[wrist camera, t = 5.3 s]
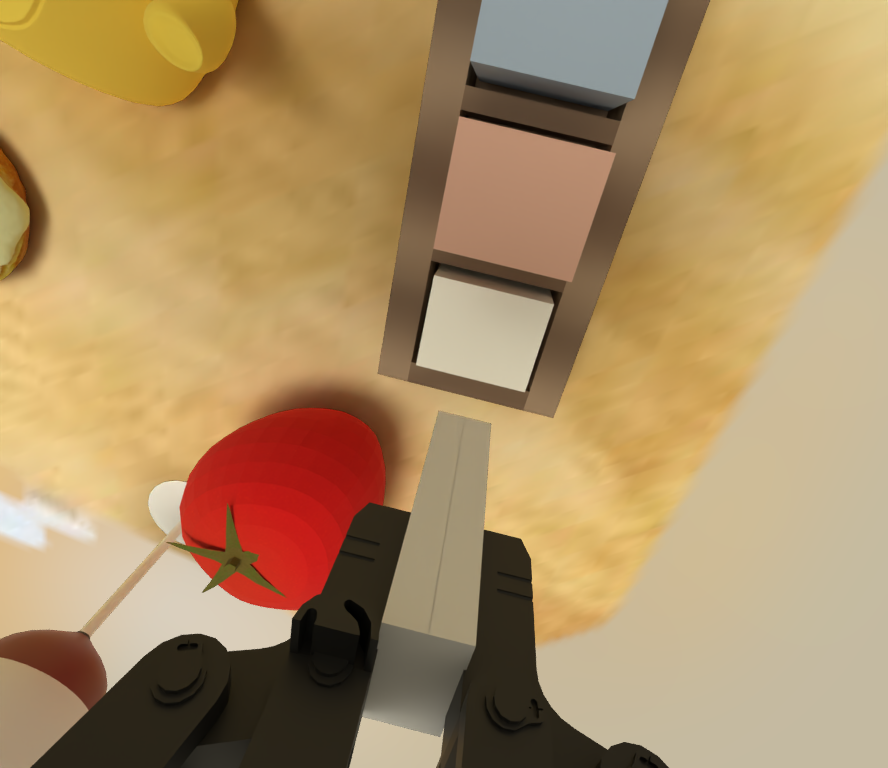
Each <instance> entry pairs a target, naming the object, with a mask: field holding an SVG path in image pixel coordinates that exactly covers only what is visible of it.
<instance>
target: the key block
mask: <svg viewBox="0 0 888 768" xmlns="http://www.w3.org/2000/svg"><path fill="white" fill-rule="evenodd" d="M481 2H482V0H438V3H437V9H436V16H435V22H434V28H433V34H432V40H431V47H430V53H429V59H428V65H427V71H426V78H425V84H424V90H423V96H422V102H421V109H420V115H419V121H418V127H417V133H416V140H415V146H414V152H413V158H412V164H411V171H410V177H409V183H408V189H407V195H406V202H405V208H404V214H403V220H402V226H401V232H400V239H399V245H398V251H397V257H396V263H395V270H394V276H393V282H392V288H391V294H390V301H389V307H388V313H387V319H386V325H385V332H384V338H383V344H382V350H381V356H380V363H379V369H378V374H380V375H384V376H388V377H392V378H396V379H400V380H404V381H408V382H412V383H416V384H420V385H424V386H428V387H432V388H436V389H440V390H444V391H448V392H452V393H456V394H460V395H464V396H468V397H472V398H476V399H480V400H484V401H488V402H492V403H495V404H499V405H503V406H507V407H511V408H515V409H519V410H523V411H527V412H531V413H535V414H539V415H543V416H547V417H551V418H553V417H554V415H555V412H556V409H557V407H558V404H559V401H560V399H561V396H562V393H563V391H564V388H565V385H566V383H567V380H568V377H569V375H570V372H571V370H572V367H573V364H574V362H575V359H576V356H577V354H578V351H579V348H580V346H581V343H582V340H583V338H584V335H585V332H586V330H587V327H588V324H589V322H590V319H591V316H592V314H593V311H594V308H595V306H596V303H597V300H598V298H599V295H600V292H601V290H602V287H603V284H604V282H605V279H606V276H607V274H608V271H609V268H610V266H611V263H612V260H613V258H614V255H615V252H616V250H617V247H618V244H619V242H620V239H621V236H622V234H623V231H624V228H625V226H626V223H627V220H628V218H629V215H630V212H631V210H632V207H633V204H634V202H635V199H636V196H637V194H638V191H639V188H640V186H641V183H642V180H643V178H644V175H645V172H646V170H647V167H648V164H649V162H650V159H651V156H652V154H653V151H654V148H655V146H656V143H657V140H658V138H659V135H660V132H661V130H662V127H663V124H664V122H665V119H666V116H667V114H668V111H669V109H670V106H671V103H672V101H673V98H674V95H675V93H676V90H677V87H678V85H679V82H680V79H681V77H682V74H683V71H684V69H685V66H686V63H687V61H688V58H689V55H690V53H691V50H692V47H693V45H694V42H695V39H696V37H697V34H698V31H699V29H700V26H701V23H702V21H703V18H704V15H705V13H706V10H707V7H708V5H709V2H710V0H668V3H667V6H666V9H665V12H664V15H663V18H662V21H661V24H660V26H659V29H658V32H657V35H656V38H655V41H654V44H653V47H652V50H651V53H650V56H649V59H648V61H647V64H646V67H645V70H644V73H643V76H642V79H641V82H640V85H639V88H638V91H637V94H636V97H635V99H634V100H632V101H629V102H627V103H625V104H623V105H621V106H618V107H616V108H614V109H612V110H610V111H605V110H601V109H597V108H593V107H588V106H584V105H580V104H576V103H571V102H567V101H563V100H559V99H554V98H550V97H546V96H541V95H537V94H533V93H529V92H524V91H520V90H516V89H512V88H507V87H503V86H499V85H495V84H490V83H486V82H482V81H479V79H478V77H477V75H476V72H475V70H474V68H473V66H472V64H471V62H470V58H471V53H472V48H473V43H474V38H475V33H476V28H477V23H478V18H479V13H480V7H481ZM459 116H461V117H465V118H469V119H473V120H477V121H482V122H486V123H490V124H494V125H499V126H503V127H507V128H511V129H516V130H520V131H524V132H528V133H532V134H537V135H541V136H545V137H549V138H554V139H558V140H562V141H566V142H570V143H575V144H579V145H583V146H587V147H592V148H596V149H600V150H604V151H608V152H613V153H616V155H615V158H614V161H613V164H612V167H611V169H610V172H609V175H608V178H607V181H606V184H605V187H604V190H603V193H602V196H601V199H600V202H599V204H598V207H597V210H596V213H595V216H594V219H593V222H592V225H591V228H590V231H589V234H588V237H587V239H586V242H585V245H584V248H583V251H582V254H581V257H580V260H579V263H578V266H577V269H576V272H575V274H574V277H573V280H572V282H568V281H564V280H560V279H556V278H552V277H548V276H544V275H540V274H535V273H531V272H527V271H523V270H519V269H515V268H511V267H507V266H503V265H499V264H494V263H490V262H486V261H482V260H478V259H474V258H470V257H466V256H462V255H458V254H453V253H449V252H445V251H441V250H437V249H433V247H434V242H435V237H436V232H437V227H438V222H439V217H440V212H441V206H442V201H443V196H444V191H445V186H446V181H447V176H448V171H449V166H450V161H451V155H452V150H453V145H454V140H455V135H456V130H457V125H458V120H459ZM442 263H444V264H448V265H452V266H456V267H460V268H464V269H468V270H472V271H477V272H481V273H485V274H489V275H493V276H497V277H501V278H505V279H509V280H513V281H517V282H522V283H526V284H530V285H534V286H538V287H542V288H546V289H550V292H551V295H552V299H553V303H554V306H553V309H552V312H551V315H550V318H549V321H548V324H547V327H546V330H545V333H544V336H543V339H542V342H541V345H540V348H539V351H538V354H537V357H536V360H535V363H534V366H533V369H532V372H531V375H530V378H529V381H528V384H527V387H526V390H525V392H521V391H517V390H513V389H509V388H505V387H501V386H497V385H493V384H489V383H485V382H481V381H477V380H473V379H469V378H465V377H461V376H457V375H453V374H449V373H445V372H441V371H437V370H433V369H429V368H425V367H421V366H417V365H416V362H417V357H418V352H419V348H420V343H421V338H422V333H423V328H424V323H425V318H426V313H427V308H428V303H429V298H430V293H431V288H432V283H433V278H434V275H435V273H436V272H437V270H438V269H439V267H440V265H441V264H442Z"/></svg>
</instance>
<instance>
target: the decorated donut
mask: <svg viewBox="0 0 888 768" xmlns="http://www.w3.org/2000/svg"><path fill="white" fill-rule="evenodd" d="M29 223H30V211H29V207H28V206H27V201H26V191H25V187H24V186H23V184H22V183H21V181H20V179H19V175H18V173H17V171H16V169H15V167H14V165H13V164H12V163H11V162H10V161H9V159H8V158H7V157H6V156H5V154H4V153H3V152H2V150H1V148H0V280H2V279H4V278H5V277H7V276H8V275H9V274H10V273H11V272H12V271H13V269H14V268H16V267H17V265H18V264H19V263H20V262H21V261H22V259H23V257H24V256H25V253H26V251H27V247H28V241H29V238H28V237H29V233H30V227H29Z"/></svg>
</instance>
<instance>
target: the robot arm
mask: <svg viewBox="0 0 888 768" xmlns="http://www.w3.org/2000/svg"><path fill="white" fill-rule="evenodd" d="M490 432H491V423H487V422H483V421H479V420H475V419H471V418H467V417H463V416H459V415H455V414H451V413H446V412H442V411H439V412H438V416H437V419H436V423H435V427H434V430H433V434H432V438H431V441H430V445H429V449H428V453H427V456H426V460H425V464H424V467H423V471H422V475H421V478H420V482H419V486H418V489H417V493H416V497H415V501H414V504H413V508H412V512H411V513H410V512H406V511H402V510H398V509H394V508H390V507H386V506H382V505H378V504H374V503H370V502H369V503H368V504H367V505H366V506H365V507H364V508H363V509H361V510H360V511H359V512H358V513H357V514H356V515H355V516H354V517H353V520H352V522H351V524H350V527H349V529H348V531H347V534H346V537H345V538H344V541H343V543H342V545H341V548H340V550H339V554H338V555H337V557H336V560H335V562H334V564H333V567H332V569H331V571H330V574H329V576H328V579H327V581H326V583H325V586H324V588H323V590H322V593H321V594H318V595H316V596H314V597H313V598H311V599H310V600H308V601H307V602H305V603H304V604H302V606H301V607H300V608H299V610H298V611H297V613H296V614H295V615H294V617H293V618H292V627H291V638H290V639H289V640H287V641H285V642H283V643H280V644H278V645H276V646H273V647H268V648H262V649H252V650H241V651H229V652H227V650H226V648H225V647H224V646H223V645H222V644H221V643H220V642H219V641H218V640H217V639H216V638H213V637H210V636H206V635H203V634H189V635H181V636H178V637H175V638H173V639H170V640H168V641H165V642H163V643H161V644H160V645H158V646H157V647H156V648H155V649H153V650H152V651H151V652H149V653H148V654H146V655H145V656H144V657H143V658H142V659H141V660H140V661H139V662H138V663H137V664H136V665H135V666H134V667H133V668H132V669H131V670H130V671H129V672H128V673H127V674H126V675H124V677H123V678H121V679H120V680H119V681H118V682H117V683H116V684H115V685H114V686H113V687H112V688H111V689H110V690H109V691H108V692H107V693H106V694H105V695H104V696H103V697H102V698H101V699H100V700H99V701H98V702H97V703H96V704H95V705H94V706H93V707H92V708H91V709H90V710H89V711H88V712H87V713H86V714H85V715H84V716H82V717H81V718H80V719H79V720H78V721H77V722H76V723H75V724H74V725H73V726H72V727H71V728H70V729H69V730H68V731H67V732H66V733H65V734H64V735H63V736H62V737H61V738H60V739H59V740H58V741H57V742H56V743H55V744H54V745H53V746H52V747H51V748H50V749H49V750H48V751H47V752H46V753H45V754H44V755H43V756H42V757H40V758H39V759H38V760H37V761H36V762H35V763H34V764H33V765H32V766H31V767H30V768H349V766H350V762H351V758H352V754H353V750H354V745H355V741H356V737H357V733H358V730H359V725H360V722H361V718H362V717H365V718H369V719H373V720H377V721H381V722H384V723H388V724H392V725H396V726H400V727H404V728H407V729H411V730H415V731H419V732H423V733H427V734H431V735H434V736H438V737H440V736H441V733H442V731H443V728H444V735H443V743H442V753H441V757H440V760H439V762H438V765H437V767H436V768H669V767H668V766H667V765H666V764H665V763H664V762H663V761H662V760H661V759H660V758H659V757H658V756H657V755H655V754H653V753H652V752H650V751H649V750H647V749H646V748H644V747H642V746H640V745H636V744H631V743H626V742H623V743H620V744H617V745H614V746H611V747H610V748H609V749H608V750H607V749H606V748H604V747H602V746H601V745H599V744H598V743H596V742H594V741H593V740H591V739H590V738H588V737H587V736H585V735H584V734H582V733H580V732H579V731H577V730H576V729H574V728H573V727H571V726H570V725H569V724H568V723H566V722H565V721H564V720H563V719H561V718H560V716H559V715H558V714H557V713H556V712H555V711H554V710H553V709H552V708H551V706H550V704H549V703H548V701H547V700H546V698H545V696H544V695H543V692H542V690H541V687H540V685H539V682H538V676H537V670H536V650H535V631H534V611H533V602H532V599H533V591H532V584H531V582H532V571H531V558H530V556H529V554H528V552H527V550H526V548H525V546H524V544H523V542H522V540H521V539H519V538H515V537H511V536H507V535H503V534H499V533H495V532H491V531H487V530H484V519H485V505H486V490H487V476H488V461H489V447H490Z"/></svg>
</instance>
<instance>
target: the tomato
mask: <svg viewBox="0 0 888 768" xmlns="http://www.w3.org/2000/svg"><path fill="white" fill-rule="evenodd" d="M385 485H386V476H385V464H384V459H383V454H382V450H381V446H380V444H379V442H378V439H377V437H376V435H375V434H374V432H373V431H372V430H371V429H370V428H369V426H368V425H366V424H365V423H363V422H362V421H361V420H359V419H358V418H356V417H354V416H352V415H350V414H347V413H345V412H342V411H337V410H332V409H324V408H299V409H291V410H287V411H282V412H278V413H275V414H272V415H269V416H266V417H264V418H261V419H258V420H256V421H253V422H251V423H249V424H247V425H245V426H243V427H241V428H239V429H237V430H236V431H234V432H232V433H231V434H229V435H228V436H226V437H224V438H223V439H222V440H220V441H219V442H218V443H216V444H215V445H214V446H212V447H211V448H210V449H209V450H208V451H207V452H206V453H205V455H204V456H203V457H202V458H201V459H200V460H199V461H198V463H197V464H196V466H195V467H194V469H193V470H192V472H191V473H190V475H189V478H188V481H187V484H186V487H185V489H184V493H183V496H182V500H181V503H180V507H179V508H180V518H181V529H182V537H183V540H184V542H185V544H186V545H182V544H177V543H172V542H166V543H169V544H171V545H174V546H177V547H179V548H182V549H184V550H187V551H189V552H190V553H191V554H192V556H193V557H194V559H195V560H196V561H197V563H198V564H199V565H200V566H201V568H202V569H203V570H204V571H205V572H206V573H207V574H208V575H209V577H210V578H212V580H211V582H210V583H209V584H208V585H207V587H206V588H205V589H204V590H203V592H205V591H207V590H209V589H211V588H213V587H215V586H216V585H219V586H220V587H221V588H223V589H224V590H225V591H227V592H228V593H229V594H231V595H232V596H234V597H236V598H237V599H239V600H241V601H244V602H247V603H250V604H253V605H258V606H262V607H267V608H274V609H282V610H299V608H300V607H301V606H302V604H304V603H305V602H307V601H308V600H310V599H311V598H313V597H314V596H316V595H318V594H321V593H322V590H323V588H324V586H325V583H326V581H327V579H328V576H329V574H330V571H331V569H332V567H333V564H334V562H335V560H336V557H337V555H338V554H339V550H340V548H341V545H342V543H343V541H344V538H345V537H346V534H347V531H348V529H349V527H350V524H351V522H352V520H353V517H354V516H355V515H356V514H357V513H358V512H359V511H360V510H361V509H363V508H364V507H365V506H366V505H367V504H368V503H369V502H370V503H374V504H378V505H382V506H383V501H384V493H385Z"/></svg>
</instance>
